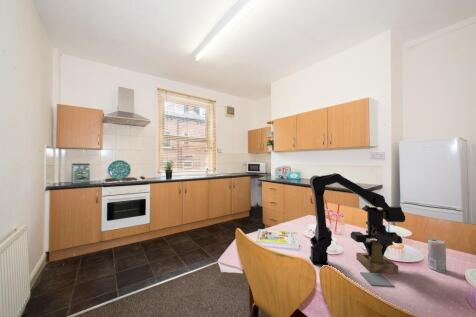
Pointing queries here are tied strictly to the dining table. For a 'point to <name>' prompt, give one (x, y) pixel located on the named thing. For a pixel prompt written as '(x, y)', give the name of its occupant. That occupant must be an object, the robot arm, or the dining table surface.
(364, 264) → the walnut frame
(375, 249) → the cork
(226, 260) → the dining table surface
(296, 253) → the dining table surface
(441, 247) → the energy drink
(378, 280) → the rubber mat
